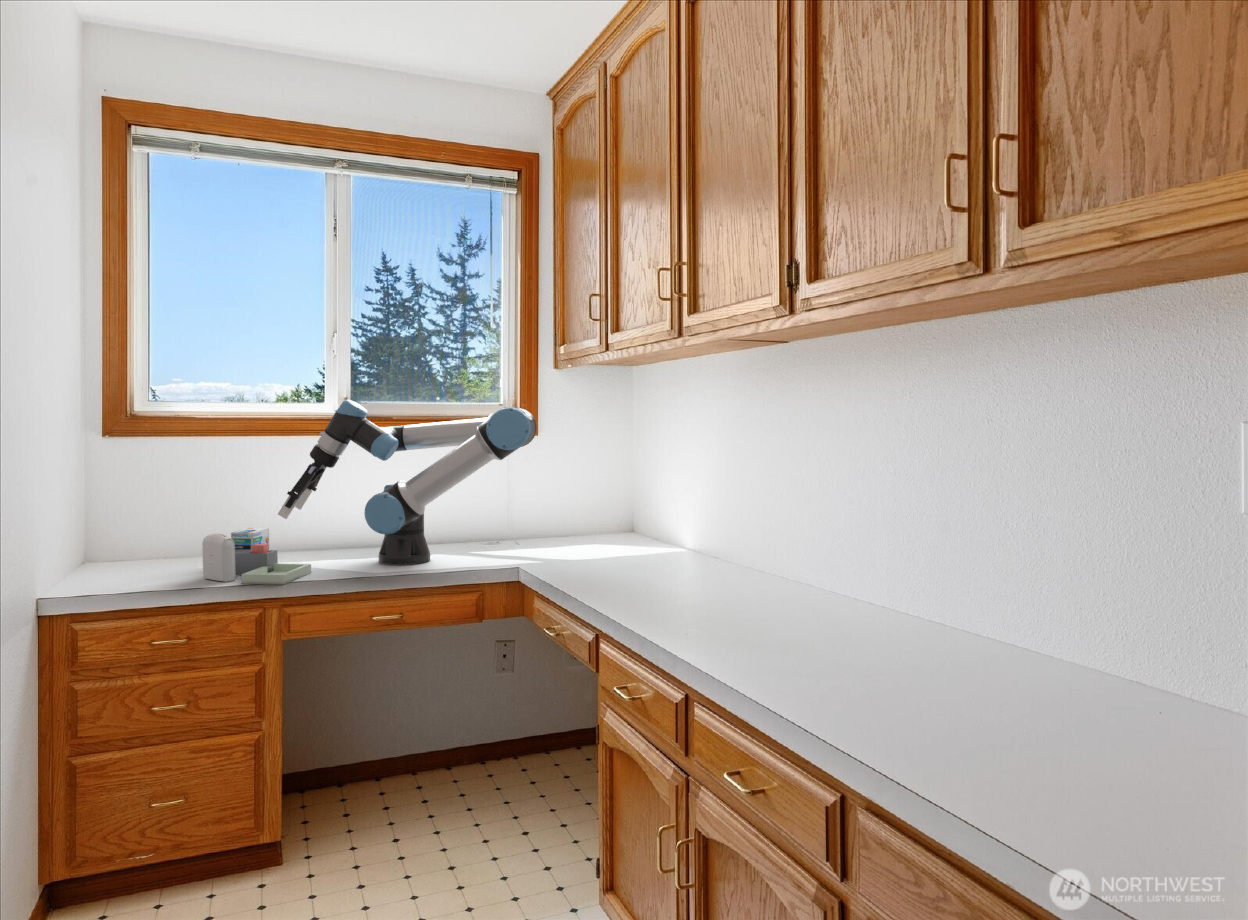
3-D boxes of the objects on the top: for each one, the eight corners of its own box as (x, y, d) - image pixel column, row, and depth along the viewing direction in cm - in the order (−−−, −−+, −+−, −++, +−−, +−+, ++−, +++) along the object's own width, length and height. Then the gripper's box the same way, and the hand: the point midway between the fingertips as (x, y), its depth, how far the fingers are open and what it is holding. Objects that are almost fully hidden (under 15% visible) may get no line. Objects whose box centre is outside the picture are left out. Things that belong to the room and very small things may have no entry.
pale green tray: (311, 572, 234) (311, 563, 234) (284, 584, 217) (284, 574, 217) (271, 572, 234) (271, 563, 234) (241, 583, 218) (241, 574, 218)
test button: (269, 561, 234) (268, 543, 234) (263, 563, 231) (263, 545, 231) (257, 561, 234) (256, 543, 234) (251, 563, 231) (251, 545, 231)
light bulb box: (254, 570, 237) (253, 532, 237) (230, 570, 237) (229, 532, 237) (270, 563, 248) (270, 527, 247) (248, 563, 248) (247, 527, 247)
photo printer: (200, 578, 225) (199, 533, 224) (215, 576, 228) (214, 531, 227) (222, 583, 219) (222, 536, 218) (238, 580, 223) (237, 534, 222)
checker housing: (277, 571, 236) (277, 550, 235) (267, 575, 230) (267, 553, 229) (229, 570, 236) (228, 549, 236) (217, 574, 230) (217, 552, 230)
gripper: (327, 438, 251) (290, 497, 252) (304, 448, 226) (263, 513, 227) (349, 451, 252) (313, 510, 253) (328, 462, 227) (288, 527, 228)
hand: (289, 511), depth 240 cm, fingers open, 13 cm apart
